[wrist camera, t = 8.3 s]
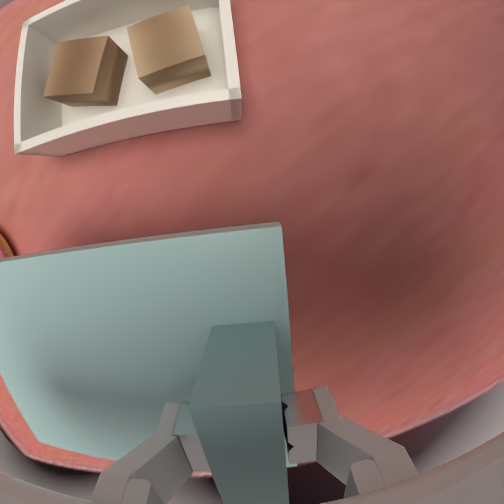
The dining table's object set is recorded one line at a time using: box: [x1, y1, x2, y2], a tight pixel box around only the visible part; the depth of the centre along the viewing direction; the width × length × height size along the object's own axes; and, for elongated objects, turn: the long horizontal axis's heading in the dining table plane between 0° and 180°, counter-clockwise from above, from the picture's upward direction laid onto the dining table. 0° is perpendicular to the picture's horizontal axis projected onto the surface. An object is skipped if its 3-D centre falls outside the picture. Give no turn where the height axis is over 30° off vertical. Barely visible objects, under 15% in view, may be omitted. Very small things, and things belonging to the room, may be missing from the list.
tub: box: [14, 0, 242, 157], centre depth 16 cm, size 14×10×6 cm
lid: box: [0, 222, 297, 504], centre depth 9 cm, size 15×11×5 cm
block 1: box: [43, 36, 128, 107], centre depth 16 cm, size 4×4×4 cm
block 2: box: [127, 5, 211, 95], centre depth 16 cm, size 4×4×4 cm
